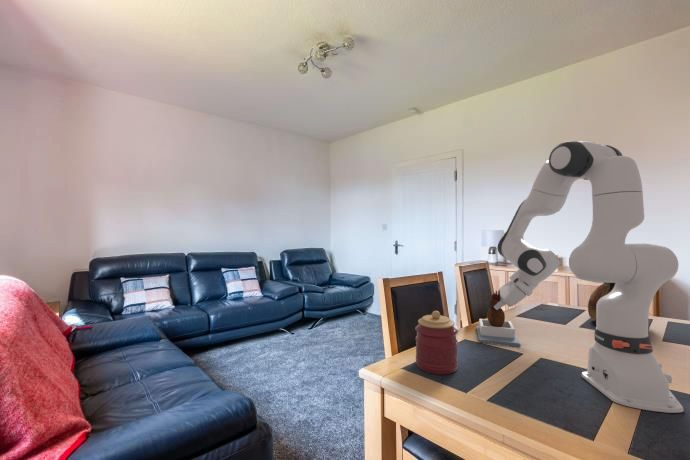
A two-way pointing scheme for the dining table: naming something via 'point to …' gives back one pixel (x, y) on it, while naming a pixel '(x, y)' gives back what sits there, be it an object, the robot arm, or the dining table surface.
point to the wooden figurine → (495, 312)
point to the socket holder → (497, 333)
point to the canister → (436, 344)
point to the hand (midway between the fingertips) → (494, 306)
